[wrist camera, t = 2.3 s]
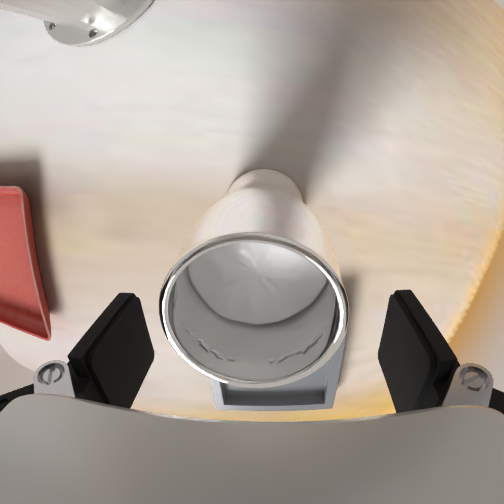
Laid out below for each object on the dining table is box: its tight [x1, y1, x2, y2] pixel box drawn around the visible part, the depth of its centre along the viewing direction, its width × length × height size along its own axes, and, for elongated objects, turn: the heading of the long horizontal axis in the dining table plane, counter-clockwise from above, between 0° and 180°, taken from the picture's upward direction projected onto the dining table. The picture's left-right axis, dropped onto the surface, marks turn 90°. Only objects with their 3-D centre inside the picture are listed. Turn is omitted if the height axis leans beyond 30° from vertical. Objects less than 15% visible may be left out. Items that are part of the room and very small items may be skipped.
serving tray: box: [209, 302, 350, 411], centre depth 29 cm, size 14×13×2 cm
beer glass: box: [159, 169, 349, 388], centre depth 17 cm, size 7×7×15 cm
